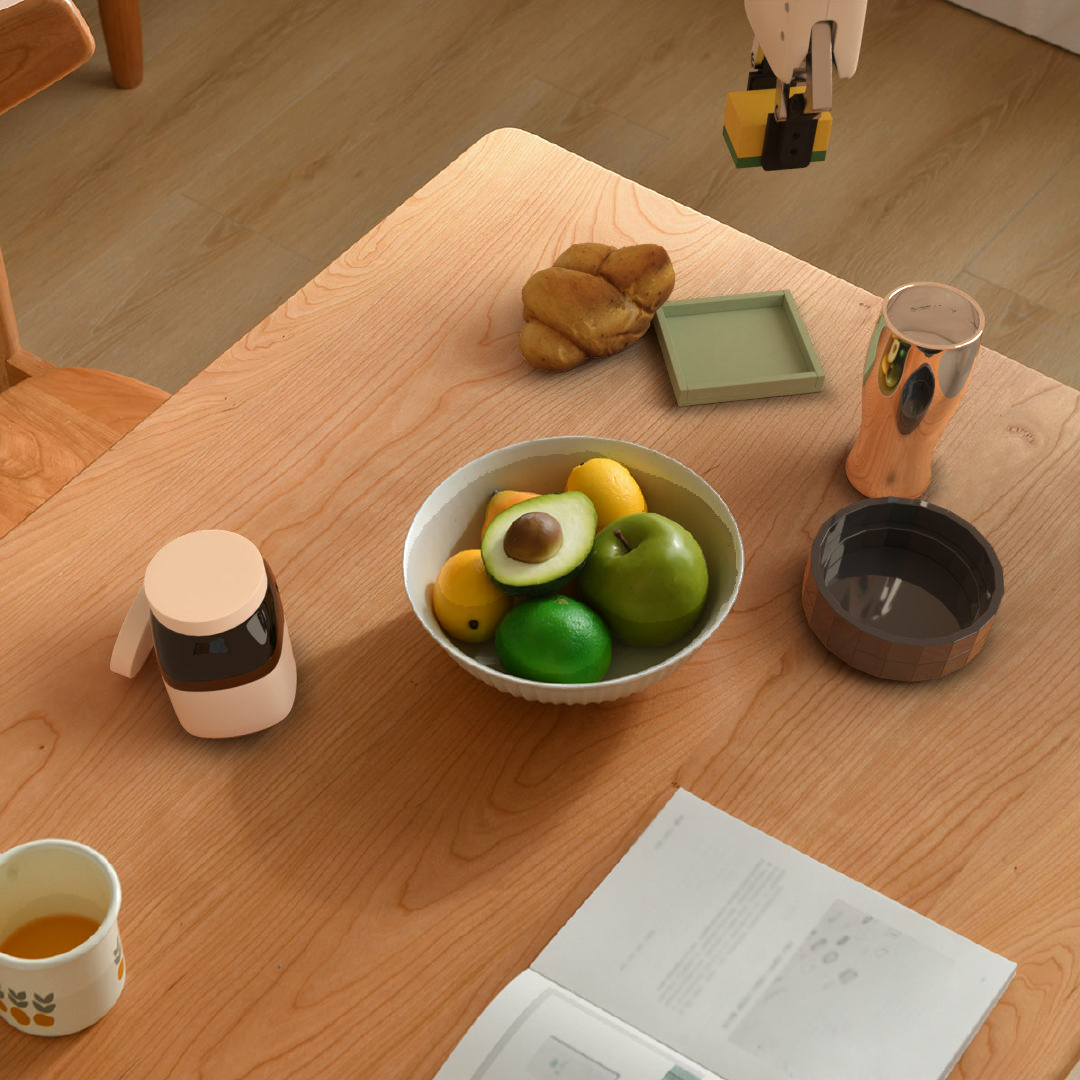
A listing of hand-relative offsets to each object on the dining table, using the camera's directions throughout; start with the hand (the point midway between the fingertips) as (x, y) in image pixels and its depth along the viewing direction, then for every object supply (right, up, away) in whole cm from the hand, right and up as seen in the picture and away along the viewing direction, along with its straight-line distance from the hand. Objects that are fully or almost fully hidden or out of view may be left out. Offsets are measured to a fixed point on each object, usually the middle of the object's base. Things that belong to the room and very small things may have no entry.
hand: (775, 143), depth 90 cm
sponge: (0, 0, 0) cm, 0 cm away
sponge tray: (0, -12, +16) cm, 20 cm away
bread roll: (-12, -10, +18) cm, 24 cm away
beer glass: (+10, -22, +8) cm, 25 cm away
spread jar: (-37, -35, -3) cm, 51 cm away
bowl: (+8, -31, 0) cm, 32 cm away
